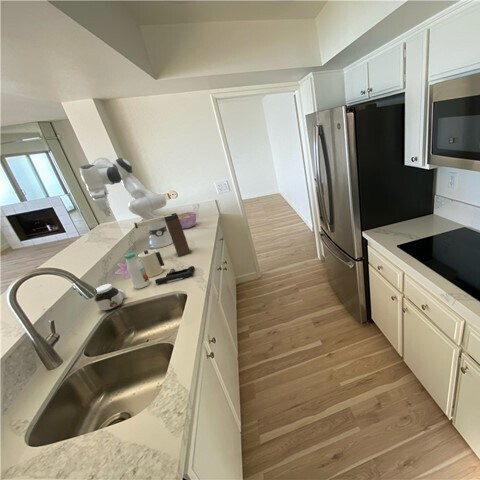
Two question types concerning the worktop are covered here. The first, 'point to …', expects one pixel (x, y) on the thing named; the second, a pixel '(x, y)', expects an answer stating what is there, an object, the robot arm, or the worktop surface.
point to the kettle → (151, 262)
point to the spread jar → (109, 297)
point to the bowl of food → (187, 219)
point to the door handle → (176, 275)
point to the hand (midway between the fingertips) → (108, 214)
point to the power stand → (177, 234)
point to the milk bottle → (136, 272)
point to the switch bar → (150, 221)
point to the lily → (123, 269)
